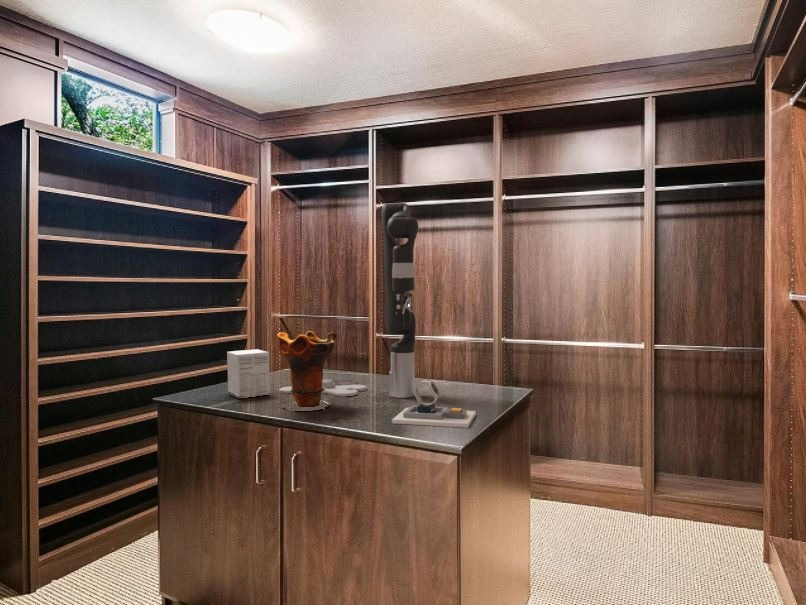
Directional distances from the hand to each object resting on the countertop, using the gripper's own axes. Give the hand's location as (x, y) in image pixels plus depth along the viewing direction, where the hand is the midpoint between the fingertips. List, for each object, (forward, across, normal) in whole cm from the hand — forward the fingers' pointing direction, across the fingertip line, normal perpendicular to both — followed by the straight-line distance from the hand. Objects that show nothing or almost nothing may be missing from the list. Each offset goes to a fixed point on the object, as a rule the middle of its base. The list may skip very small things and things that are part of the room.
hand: (403, 324), depth 190 cm
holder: (+31, -29, -43) cm, 60 cm away
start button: (+28, +7, +19) cm, 35 cm away
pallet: (+30, +7, +12) cm, 33 cm away
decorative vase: (+30, -1, -37) cm, 48 cm away
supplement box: (+30, -15, -69) cm, 77 cm away
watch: (+29, +6, +9) cm, 31 cm away
